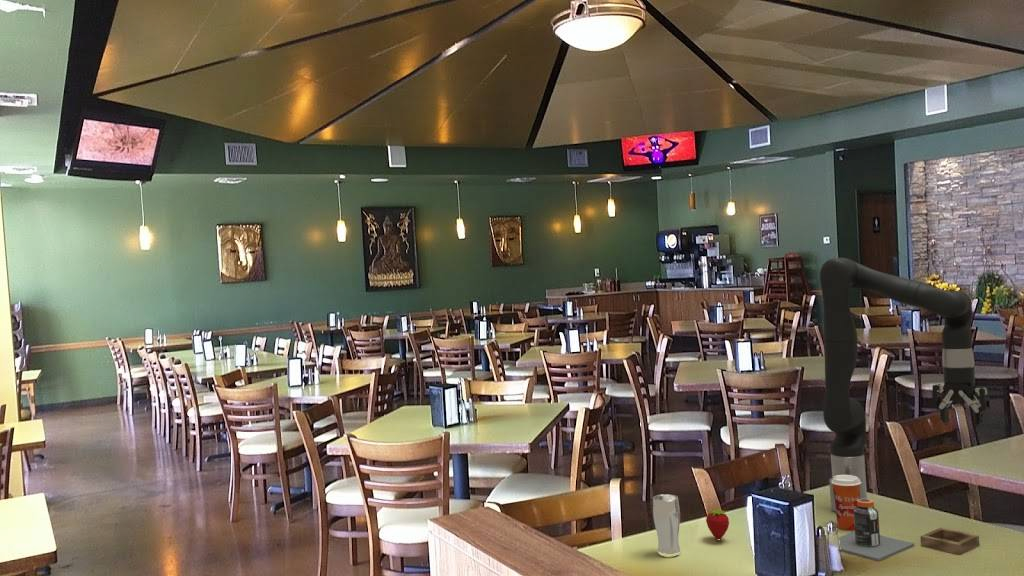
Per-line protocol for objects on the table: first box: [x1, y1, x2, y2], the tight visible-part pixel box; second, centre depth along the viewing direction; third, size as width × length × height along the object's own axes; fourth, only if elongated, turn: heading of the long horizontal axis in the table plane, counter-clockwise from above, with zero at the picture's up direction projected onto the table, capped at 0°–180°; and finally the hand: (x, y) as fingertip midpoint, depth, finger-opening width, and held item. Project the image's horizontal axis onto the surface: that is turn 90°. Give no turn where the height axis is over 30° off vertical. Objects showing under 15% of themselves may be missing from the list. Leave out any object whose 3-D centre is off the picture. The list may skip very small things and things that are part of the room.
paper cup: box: [831, 475, 861, 531], centre depth 228 cm, size 8×8×14 cm
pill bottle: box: [854, 498, 881, 546], centre depth 213 cm, size 6×6×11 cm
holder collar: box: [920, 527, 980, 556], centre depth 209 cm, size 10×10×2 cm
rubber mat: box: [839, 530, 915, 562], centre depth 212 cm, size 16×16×1 cm
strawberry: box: [705, 503, 730, 540], centre depth 224 cm, size 6×8×10 cm
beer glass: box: [652, 493, 681, 554], centre depth 216 cm, size 7×7×15 cm
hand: (961, 424), depth 221 cm, fingers open, 8 cm apart
